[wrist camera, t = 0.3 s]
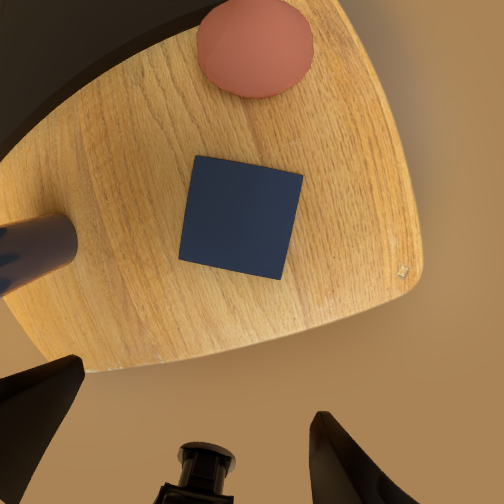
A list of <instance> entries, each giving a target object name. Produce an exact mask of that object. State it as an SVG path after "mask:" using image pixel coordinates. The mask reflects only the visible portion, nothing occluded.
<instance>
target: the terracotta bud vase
mask: <svg viewBox="0 0 504 504" xmlns="http://www.w3.org/2000/svg"><path fill="white" fill-rule="evenodd" d="M197 47H198V57H199V65H200V67H201V68H202V70H203V72H204V73H205V75H206V77H207V78H208V79H209V80H210V81H211V82H213V83H214V84H215V85H217V86H218V87H219V88H221V89H222V90H225V91H227V92H230V93H233V94H236V95H239V96H242V97H245V98H266V97H270V96H274V95H278V94H280V93H282V92H284V91H285V90H287V89H288V88H290V87H292V86H293V85H295V84H296V83H298V82H300V81H301V79H302V78H303V77H304V75H305V74H306V73H307V71H308V70H309V69H310V67H311V62H312V58H313V53H314V50H313V36H312V32H311V29H310V25H309V22H308V21H307V20H306V18H305V17H304V16H303V15H302V14H301V12H300V11H299V10H298V9H296V8H294V7H293V6H291V5H289V4H288V3H286V2H284V1H282V0H228V1H227V2H225V3H223V4H221V5H219V6H217V7H216V8H214V9H213V10H212V11H211V12H210V13H209V14H208V15H207V16H206V17H205V18H204V19H203V20H202V22H201V24H200V27H199V29H198V32H197Z"/></svg>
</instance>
